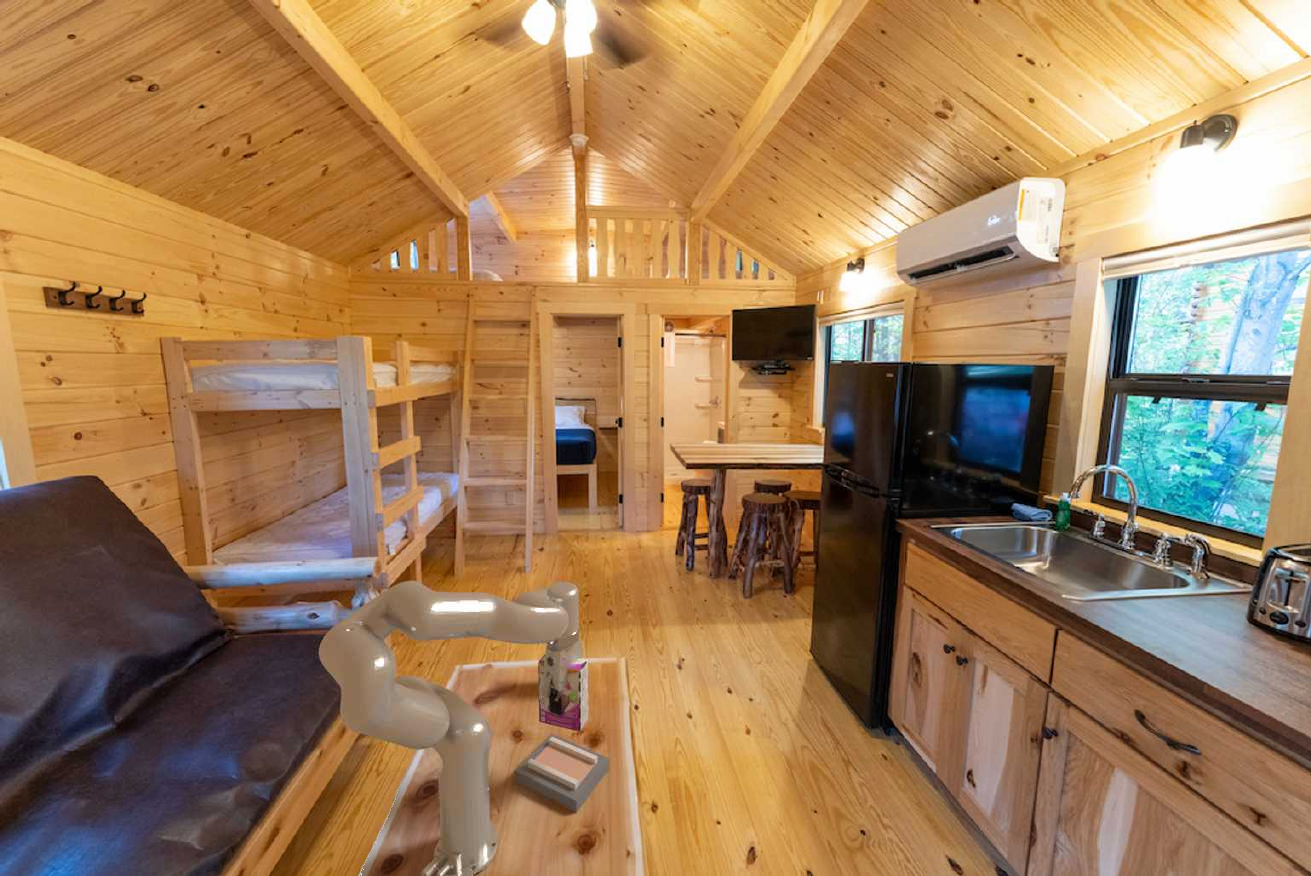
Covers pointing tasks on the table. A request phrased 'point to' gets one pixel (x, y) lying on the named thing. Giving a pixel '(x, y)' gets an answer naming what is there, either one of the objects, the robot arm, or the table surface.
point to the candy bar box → (567, 697)
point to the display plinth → (562, 771)
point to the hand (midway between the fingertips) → (563, 703)
